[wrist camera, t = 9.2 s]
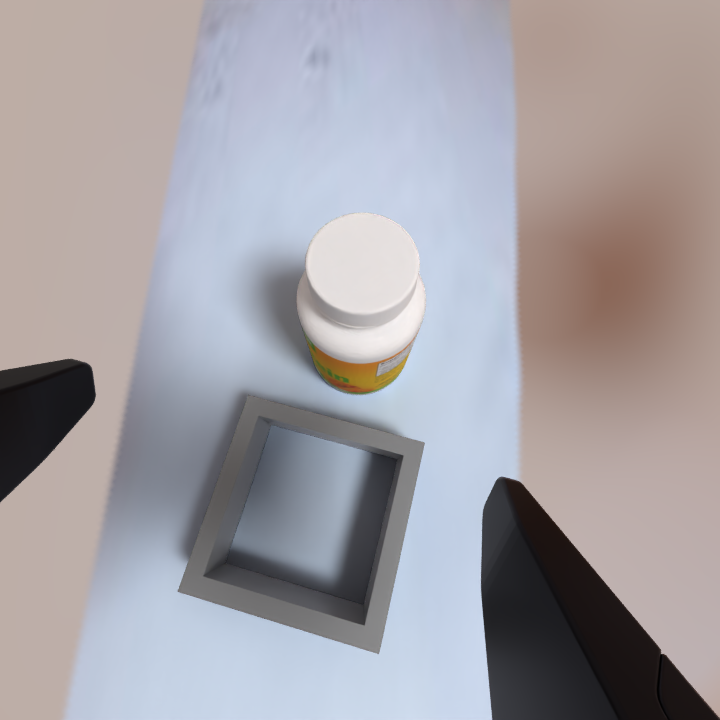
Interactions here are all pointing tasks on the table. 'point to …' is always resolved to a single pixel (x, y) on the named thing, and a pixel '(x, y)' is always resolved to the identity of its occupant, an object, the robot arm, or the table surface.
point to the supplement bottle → (361, 301)
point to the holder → (279, 597)
